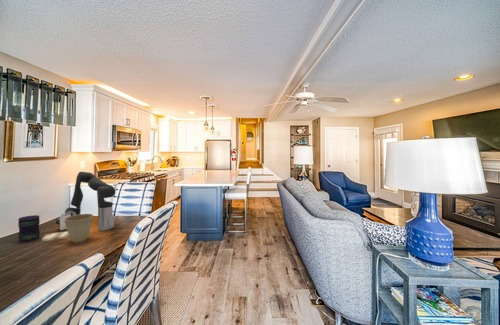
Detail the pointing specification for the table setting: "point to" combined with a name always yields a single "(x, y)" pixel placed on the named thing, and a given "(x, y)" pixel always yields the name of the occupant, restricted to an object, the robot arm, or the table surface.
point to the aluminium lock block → (63, 222)
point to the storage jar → (29, 228)
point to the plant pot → (79, 226)
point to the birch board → (55, 236)
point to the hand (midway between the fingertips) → (64, 223)
